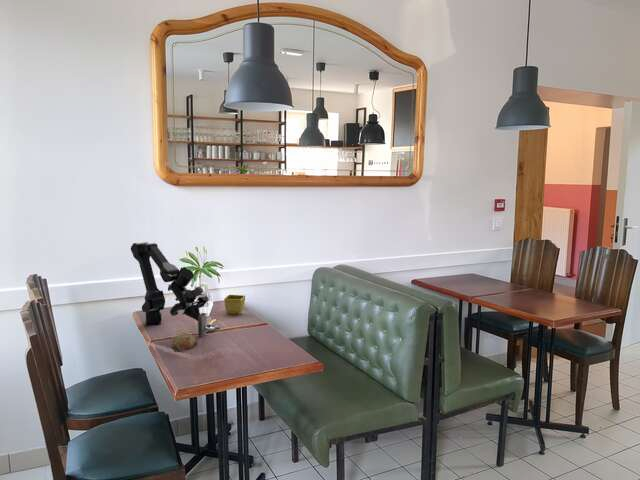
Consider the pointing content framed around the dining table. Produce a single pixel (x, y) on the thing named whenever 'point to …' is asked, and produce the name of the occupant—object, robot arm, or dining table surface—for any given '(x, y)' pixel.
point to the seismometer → (203, 327)
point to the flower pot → (234, 303)
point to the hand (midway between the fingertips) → (200, 321)
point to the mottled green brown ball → (184, 342)
